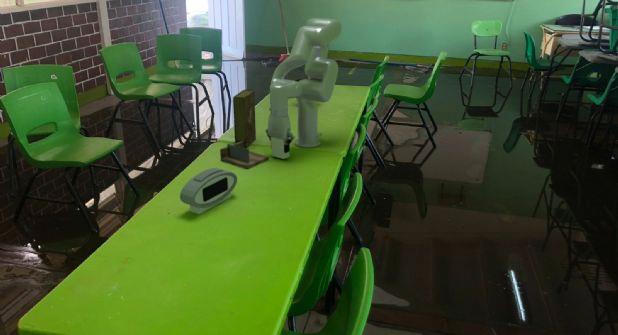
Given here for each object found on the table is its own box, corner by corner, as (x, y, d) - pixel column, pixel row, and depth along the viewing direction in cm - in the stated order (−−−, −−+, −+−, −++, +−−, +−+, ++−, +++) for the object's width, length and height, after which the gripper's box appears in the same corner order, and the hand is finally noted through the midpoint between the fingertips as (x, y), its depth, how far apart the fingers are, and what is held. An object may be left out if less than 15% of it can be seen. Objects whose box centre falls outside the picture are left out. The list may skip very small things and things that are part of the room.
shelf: (242, 152, 223) (241, 136, 220) (268, 159, 214) (268, 144, 212) (220, 160, 213) (219, 144, 210) (247, 169, 204) (246, 152, 201)
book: (246, 137, 242) (244, 89, 233) (256, 138, 241) (255, 89, 232) (235, 148, 227) (232, 97, 218) (246, 149, 226) (244, 97, 217)
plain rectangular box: (277, 152, 219) (276, 132, 215) (289, 156, 216) (288, 135, 212) (271, 155, 216) (270, 134, 212) (283, 159, 213) (283, 137, 209)
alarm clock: (194, 218, 163) (191, 184, 158) (181, 214, 166) (178, 180, 161) (238, 194, 181) (236, 162, 176) (226, 190, 184) (224, 159, 179)
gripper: (258, 110, 210) (260, 148, 217) (289, 117, 200) (290, 157, 207) (269, 106, 215) (270, 144, 222) (300, 113, 206) (300, 152, 213)
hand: (280, 150), depth 215 cm, fingers closed on plain rectangular box, 7 cm apart
